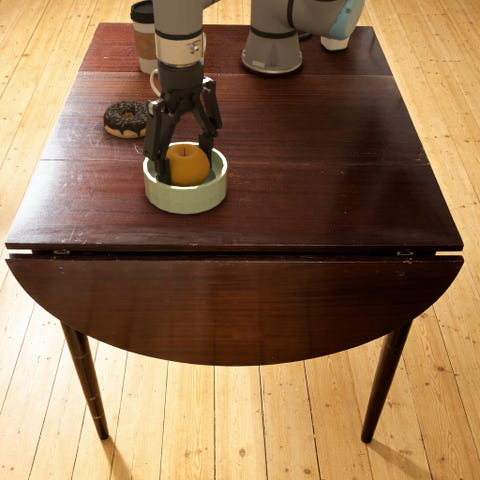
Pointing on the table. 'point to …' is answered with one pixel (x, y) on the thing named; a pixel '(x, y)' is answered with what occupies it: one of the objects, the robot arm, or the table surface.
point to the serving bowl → (188, 188)
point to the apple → (187, 165)
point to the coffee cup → (144, 34)
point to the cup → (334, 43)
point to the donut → (126, 119)
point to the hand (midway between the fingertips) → (185, 176)
